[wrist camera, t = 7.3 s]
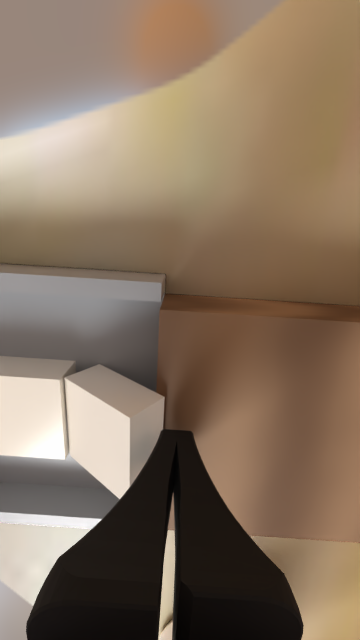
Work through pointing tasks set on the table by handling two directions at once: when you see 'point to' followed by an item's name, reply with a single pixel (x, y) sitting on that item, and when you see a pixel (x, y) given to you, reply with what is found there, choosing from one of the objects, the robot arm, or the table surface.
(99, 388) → the tile
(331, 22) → the table surface
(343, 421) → the brown board
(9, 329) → the tray
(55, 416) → the tile
